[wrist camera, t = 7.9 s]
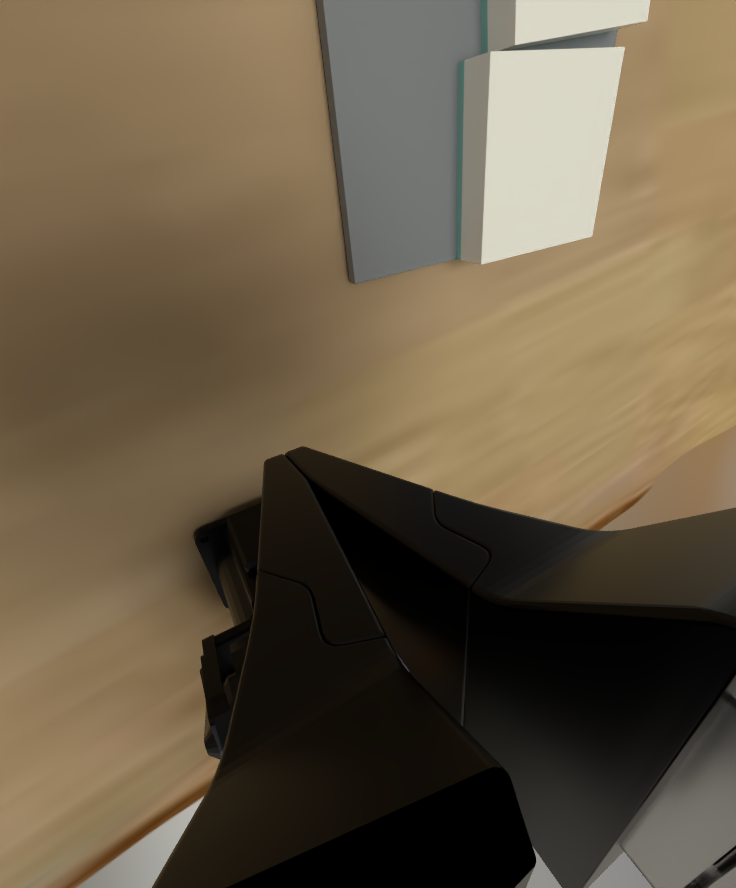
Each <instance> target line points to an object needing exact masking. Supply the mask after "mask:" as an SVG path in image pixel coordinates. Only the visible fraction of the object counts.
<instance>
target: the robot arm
mask: <svg viewBox="0 0 736 888" xmlns="http://www.w3.org/2000/svg"><path fill="white" fill-rule="evenodd" d="M205 535H207V537H206V538H203V539H202V538H201V537H202V536H205ZM194 540H195V543H196V545H197V548H198V550H199V552H200V554H201V556H202V558H203V560H204V563H205V565H206V567H207V569H208V571H209V573H210V576H211V578H212V580H213V582H214V584H215V586H216V588H217V591H218V593H219V595H220V597H221V599H222V601H223V604H224V606H225V607H226V608H229V610H230V613H231V616H232V619H233V622H234V625H235V626H234V627H232V628H230V629H228V630H226V631H224V632H222V633H220V634H218V635H216V636H214V635H211V636H209V637H207V638H205V639H203V640H202V646H203V654H204V655H203V656H201V664H202V668H201V670H200V674H201V679H202V684H203V688H204V693H205V699H206V717H205V733H204V743H205V747H206V750H207V753H208V755H209V756H212V757H215V758H217V759H220V762H219V765H218V768H217V771H216V773H215V776H214V778H213V780H212V782H211V785H210V787H209V789H208V791H207V793H206V794H205V796H204V798H203V800H202V802H201V803H200V805H199V807H198V808H197V810H196V812H195V814H194V815H193V817H192V819H191V821H190V823H189V824H188V826H187V828H186V829H185V831H184V833H183V834H182V836H181V838H180V840H179V841H178V843H177V845H176V847H175V848H174V850H173V852H172V853H171V855H170V857H169V859H168V861H167V862H166V864H165V866H164V867H163V869H162V871H161V873H160V874H159V876H158V878H157V880H156V881H155V883H154V885H153V886H152V888H526V886H527V883H528V881H529V879H530V876H531V874H532V871H533V869H534V867H535V864H536V856H535V853H534V850H533V847H534V849H535V850H536V851H537V853H538V854H539V855H540V857H541V858H542V860H543V861H544V863H545V864H546V865H547V867H548V868H549V870H550V871H551V873H552V874H553V875H554V877H555V878H556V879H557V881H558V882H559V884H560V885H561V887H562V888H588V887H589V886H590V885H591V884H592V883H593V882H594V881H595V880H596V879H597V878H598V877H599V876H600V875H601V874H602V873H603V872H604V871H605V870H606V869H607V868H608V867H609V865H611V864H612V863H613V862H614V861H615V860H616V859H617V858H618V856H620V854H622V853H623V852H625V853H626V854H627V856H628V857H629V858H630V859H631V861H632V862H633V863H634V864H635V866H636V867H637V868H638V869H639V870H640V872H641V873H642V874H643V876H644V877H645V878H646V879H647V881H648V882H649V883H650V884H651V886H652V887H653V888H736V508H732V509H727V510H722V511H717V512H712V513H707V514H702V515H697V516H692V517H687V518H682V519H677V520H672V521H667V522H662V523H657V524H652V525H647V526H642V527H637V528H632V529H626V530H617V531H595V530H586V529H581V528H576V527H571V526H567V525H563V524H559V523H555V522H550V521H546V520H542V519H538V518H534V517H529V516H525V515H521V514H517V513H513V512H509V511H505V510H501V509H497V508H493V507H489V506H485V505H481V504H478V503H474V502H471V501H468V500H465V499H461V498H458V497H455V496H452V495H449V494H446V493H443V492H440V491H434V493H433V490H432V489H430V488H427V487H424V486H421V485H418V484H415V483H412V482H409V481H406V480H403V479H400V478H397V477H394V476H391V475H388V474H385V473H382V472H379V471H376V470H373V469H370V468H367V467H364V466H361V465H358V464H355V463H352V462H349V461H346V460H343V459H340V458H337V457H334V456H331V455H328V454H325V453H322V452H319V451H316V450H313V449H310V448H307V447H304V446H302V447H299V448H296V449H294V450H291V451H288V452H286V454H285V455H283V454H280V455H278V456H275V457H272V458H270V459H267V460H265V462H264V472H263V488H262V503H261V504H259V505H256V506H254V507H251V508H249V509H246V510H244V511H241V512H239V513H237V514H234V515H232V516H229V517H227V518H224V519H222V520H219V521H217V522H214V523H212V524H210V525H207V526H205V527H202V528H200V529H198V530H197V531H196V532H195V533H194ZM532 846H533V847H532Z"/></svg>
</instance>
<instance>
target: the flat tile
mask: <svg viewBox="0 0 736 888" xmlns="http://www.w3.org/2000/svg"><path fill="white" fill-rule="evenodd" d="M649 5H650V0H481V51H482V54H484V53H487V52H490V51H512V50H517V49H522V48H528V47H533V46H538V45H544V44H549V43H555V42H560V41H565V40H571V39H576V38H581V37H587V36H592V35H598V34H603V33H608V32H612V31H615V30H618V29H622V28H625V27H629V26H632V25H636V24H639V23H642V22H646V21H647V19H648V12H649Z"/></svg>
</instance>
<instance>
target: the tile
mask: <svg viewBox="0 0 736 888" xmlns="http://www.w3.org/2000/svg"><path fill="white" fill-rule="evenodd" d="M624 49H625V47H605V48H576V49H547V50H518V51H490V52H487V53H484V54H481V55H478V56H475V57H472V58H469V59H466V60H463V61H460V62H458V135H457V214H456V259H457V260H462V261H467V262H471V263H476V264H485V263H489V262H493V261H497V260H501V259H505V258H509V257H513V256H517V255H521V254H525V253H529V252H533V251H537V250H540V249H544V248H548V247H552V246H556V245H560V244H564V243H568V242H572V241H576V240H580V239H584V238H588V237H592V234H593V228H594V222H595V217H596V211H597V205H598V199H599V193H600V188H601V182H602V176H603V170H604V165H605V159H606V153H607V147H608V142H609V136H610V130H611V124H612V118H613V113H614V107H615V101H616V95H617V90H618V84H619V78H620V72H621V66H622V61H623V55H624Z"/></svg>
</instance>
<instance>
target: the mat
mask: <svg viewBox="0 0 736 888" xmlns="http://www.w3.org/2000/svg"><path fill="white" fill-rule="evenodd" d="M316 5H317V13H318V21H319V30H320V38H321V47H322V55H323V63H324V72H325V80H326V88H327V97H328V105H329V113H330V122H331V130H332V138H333V147H334V155H335V163H336V172H337V180H338V188H339V197H340V205H341V214H342V222H343V230H344V239H345V247H346V255H347V264H348V272H349V280H350V282H352V283H355V284H356V283H360V282H364V281H368V280H372V279H376V278H381V277H385V276H389V275H393V274H397V273H401V272H405V271H410V270H414V269H418V268H422V267H426V266H430V265H434V264H438V263H443V262H447V261H451V260H455V259H456V214H457V135H458V62H460V61H463V60H466V59H469V58H472V57H475V56H478V55H481V54H482V51H481V0H316ZM617 31H618V30H615V31H612V32H608V33H603V34H598V35H592V36H587V37H581V38H576V39H571V40H565V41H560V42H555V43H549V44H544V45H538V46H533V47H528V48H522V49H517V50H512V51H518V50H547V49H576V48H605V47H615V43H616V37H617Z"/></svg>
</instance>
